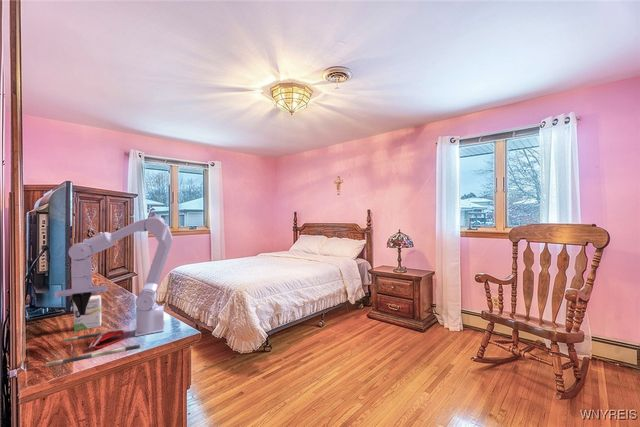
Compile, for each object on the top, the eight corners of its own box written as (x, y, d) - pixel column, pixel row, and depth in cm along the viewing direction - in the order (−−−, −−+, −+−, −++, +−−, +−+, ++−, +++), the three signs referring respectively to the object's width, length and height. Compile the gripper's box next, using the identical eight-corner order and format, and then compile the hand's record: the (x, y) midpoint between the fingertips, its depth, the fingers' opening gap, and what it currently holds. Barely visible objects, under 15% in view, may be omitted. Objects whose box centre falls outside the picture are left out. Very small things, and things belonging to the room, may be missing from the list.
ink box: (73, 331, 116) (72, 301, 116) (75, 327, 120) (75, 298, 120) (100, 326, 120) (100, 297, 120) (101, 322, 125) (101, 294, 125)
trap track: (141, 327, 119) (141, 325, 119) (139, 347, 100) (139, 345, 100) (63, 340, 107) (63, 338, 107) (45, 366, 89) (45, 364, 89)
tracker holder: (88, 338, 107) (121, 325, 113) (92, 350, 106) (124, 336, 112) (85, 342, 97) (121, 327, 103) (89, 355, 97) (125, 339, 103)
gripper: (108, 272, 114) (108, 308, 114) (58, 276, 107) (59, 314, 107) (105, 275, 108) (106, 313, 108) (52, 280, 101) (53, 320, 101)
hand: (82, 314), depth 107 cm, fingers closed
